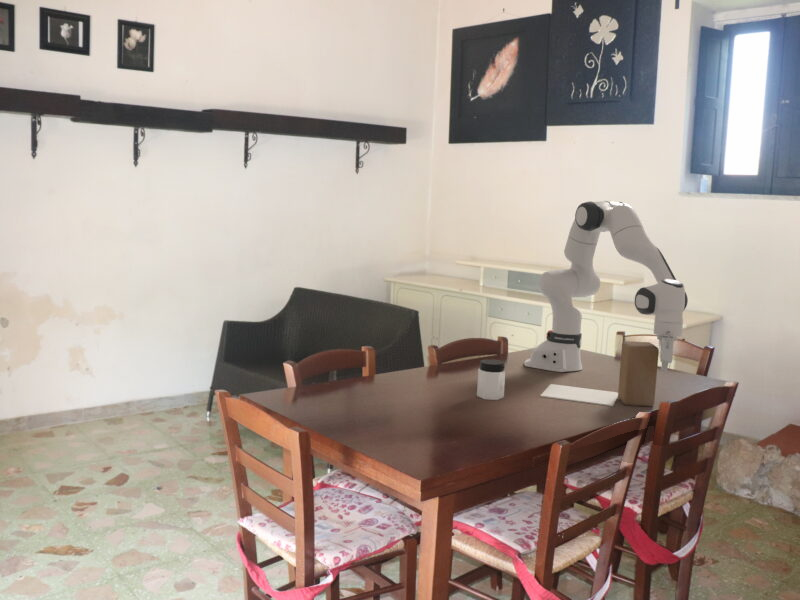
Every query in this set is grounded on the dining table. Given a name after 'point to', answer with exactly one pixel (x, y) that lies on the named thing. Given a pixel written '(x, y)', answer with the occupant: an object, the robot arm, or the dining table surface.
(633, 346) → the block
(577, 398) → the mat
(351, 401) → the dining table surface
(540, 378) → the dining table surface
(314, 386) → the dining table surface
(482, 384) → the jar
